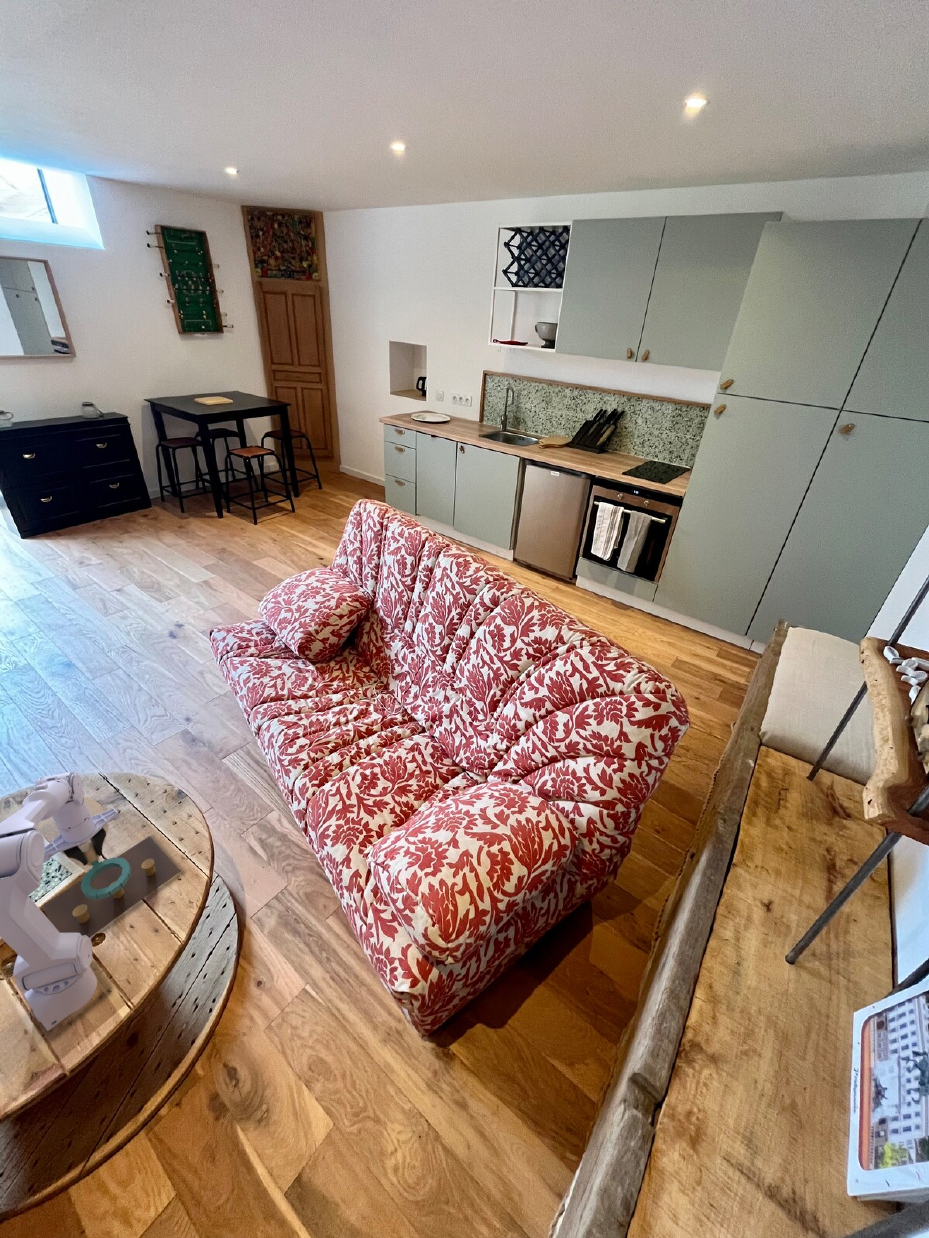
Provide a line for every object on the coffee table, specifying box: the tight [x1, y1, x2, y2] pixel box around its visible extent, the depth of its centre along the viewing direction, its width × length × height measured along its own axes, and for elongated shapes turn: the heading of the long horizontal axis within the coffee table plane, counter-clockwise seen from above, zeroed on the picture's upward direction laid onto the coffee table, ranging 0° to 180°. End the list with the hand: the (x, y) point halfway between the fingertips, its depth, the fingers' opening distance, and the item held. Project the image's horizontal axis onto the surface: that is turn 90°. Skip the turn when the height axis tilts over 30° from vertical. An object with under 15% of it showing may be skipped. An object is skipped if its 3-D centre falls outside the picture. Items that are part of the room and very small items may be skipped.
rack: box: [41, 836, 181, 939], centre depth 115 cm, size 23×15×4 cm, turn 144°
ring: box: [79, 842, 131, 900], centre depth 110 cm, size 9×13×5 cm
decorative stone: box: [84, 796, 106, 843], centre depth 128 cm, size 8×14×8 cm, turn 51°
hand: (91, 857), depth 113 cm, fingers closed on ring, 2 cm apart
